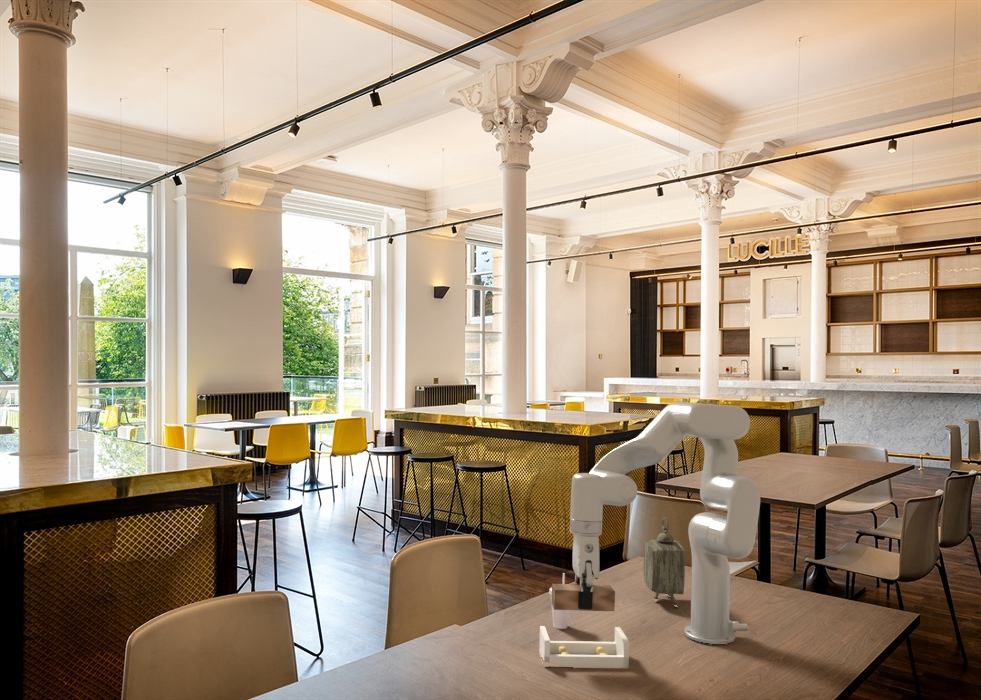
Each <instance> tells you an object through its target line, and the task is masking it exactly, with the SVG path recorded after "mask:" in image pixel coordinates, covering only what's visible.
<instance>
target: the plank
mask: <svg viewBox="0 0 981 700" xmlns="http://www.w3.org/2000/svg"><path fill="white" fill-rule="evenodd" d="M551 587H552V600H551V599H550V603H552V605H553V608H554V610H570V611H586V612H587V611H591V612H615V610H616V609H615V608H616V605H615V604H616V602H615V601H616V591H615V589H614V588H613V587H612V585H608V584H607V585H603V584H593V601H592V609H591V610H589V609H579V608H578V596H579V591H580V585H577V583H573V584H572V583H570V584H568V583H565V584H563V583H552V584H551ZM552 605H551V606H552Z"/></svg>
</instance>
